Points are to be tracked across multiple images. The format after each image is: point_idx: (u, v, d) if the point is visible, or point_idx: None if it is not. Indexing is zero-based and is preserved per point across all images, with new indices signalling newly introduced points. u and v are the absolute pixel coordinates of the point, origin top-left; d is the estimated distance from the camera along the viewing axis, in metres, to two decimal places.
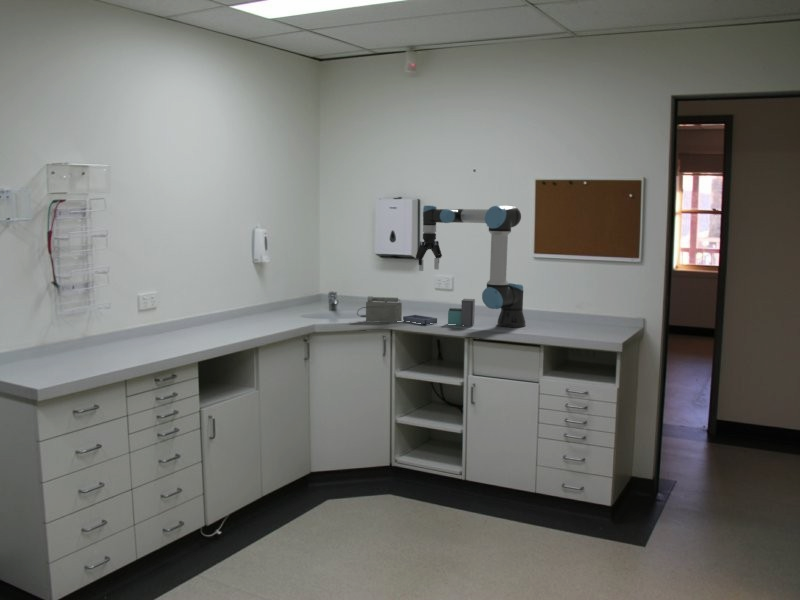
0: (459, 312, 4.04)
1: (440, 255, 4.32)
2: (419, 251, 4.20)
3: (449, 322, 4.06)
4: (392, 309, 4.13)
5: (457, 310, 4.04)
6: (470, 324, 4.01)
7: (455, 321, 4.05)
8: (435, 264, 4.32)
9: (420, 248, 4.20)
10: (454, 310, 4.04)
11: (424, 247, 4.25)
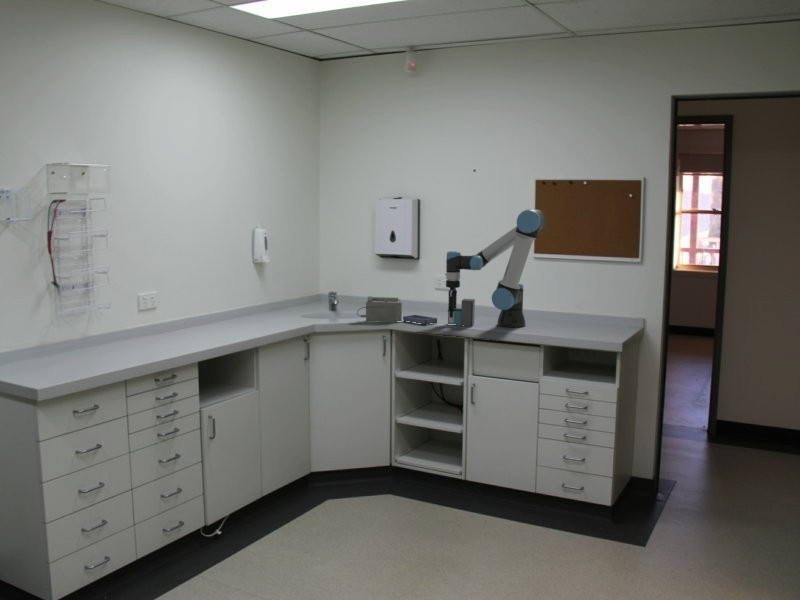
0: (459, 312, 4.04)
1: (455, 306, 4.11)
2: (451, 303, 4.00)
3: None
4: (392, 309, 4.13)
5: (457, 310, 4.04)
6: (470, 324, 4.01)
7: (455, 321, 4.05)
8: None
9: (451, 300, 4.00)
10: (454, 310, 4.04)
11: None
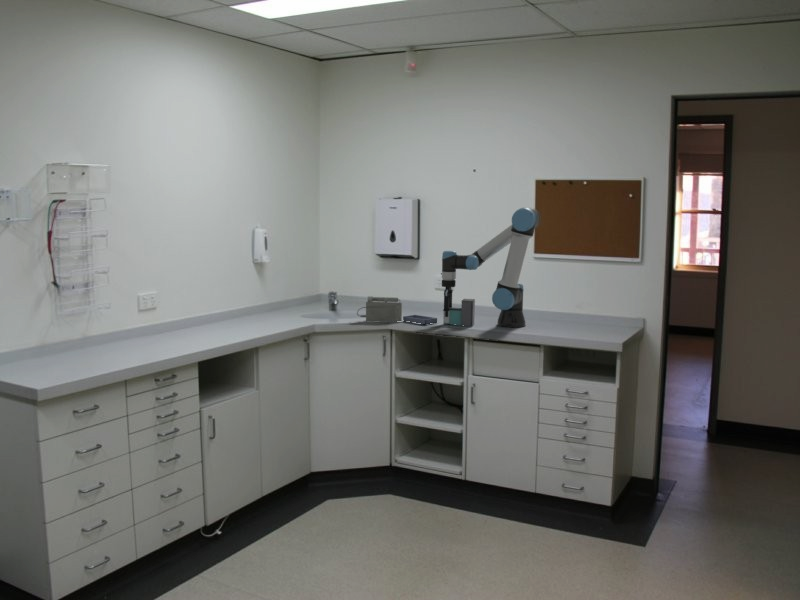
0: (455, 311, 4.04)
1: (451, 305, 4.11)
2: (446, 303, 4.01)
3: None
4: (392, 309, 4.13)
5: (453, 309, 4.04)
6: (470, 324, 4.01)
7: (451, 321, 4.05)
8: None
9: (446, 299, 4.01)
10: (450, 309, 4.05)
11: None
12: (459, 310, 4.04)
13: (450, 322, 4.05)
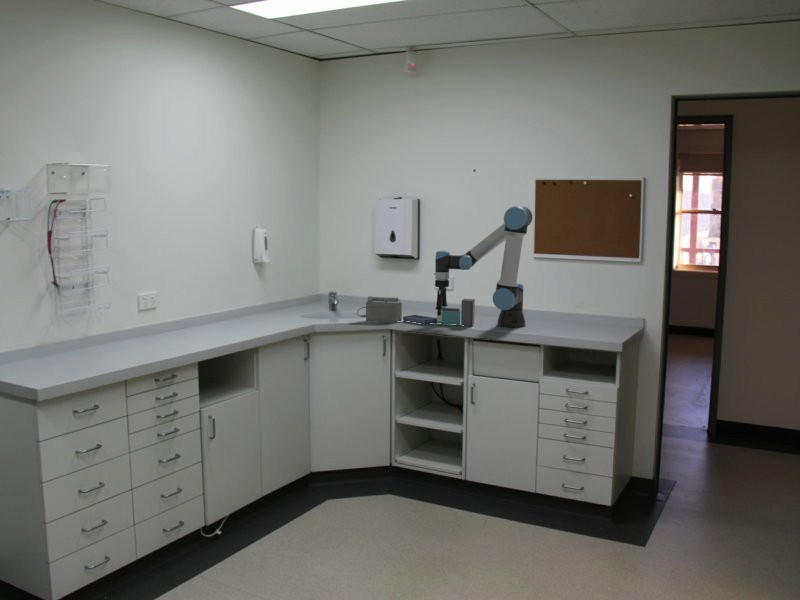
0: (448, 312, 4.05)
1: (446, 303, 4.15)
2: (439, 301, 4.00)
3: (438, 321, 4.07)
4: (392, 309, 4.13)
5: (446, 310, 4.05)
6: (470, 324, 4.01)
7: (445, 321, 4.06)
8: None
9: (439, 298, 4.00)
10: (443, 310, 4.06)
11: None
12: (453, 310, 4.04)
13: (444, 322, 4.06)
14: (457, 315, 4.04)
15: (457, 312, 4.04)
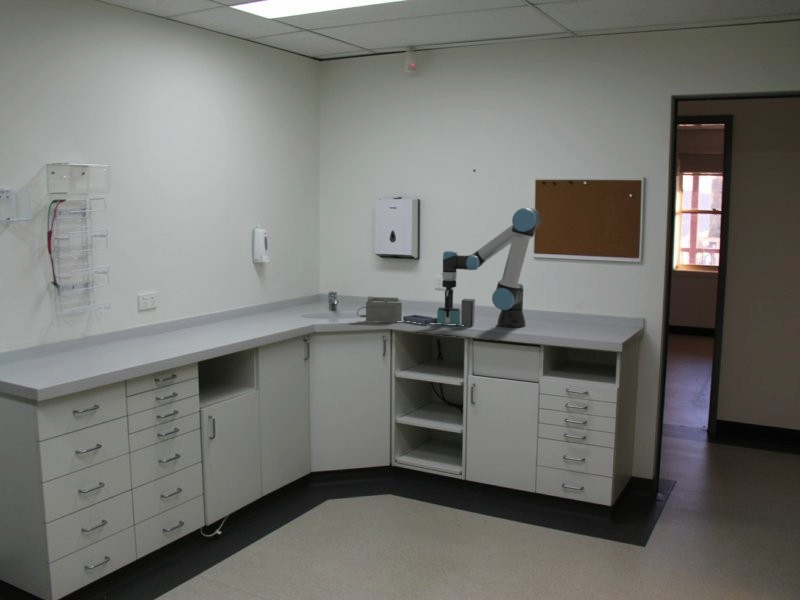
0: None
1: (452, 306, 4.11)
2: (447, 303, 4.01)
3: (438, 321, 4.07)
4: (392, 309, 4.13)
5: None
6: (470, 324, 4.01)
7: (444, 321, 4.06)
8: None
9: (447, 300, 4.00)
10: (443, 309, 4.06)
11: None
12: (453, 310, 4.04)
13: (444, 322, 4.06)
14: (457, 315, 4.04)
15: (457, 312, 4.04)
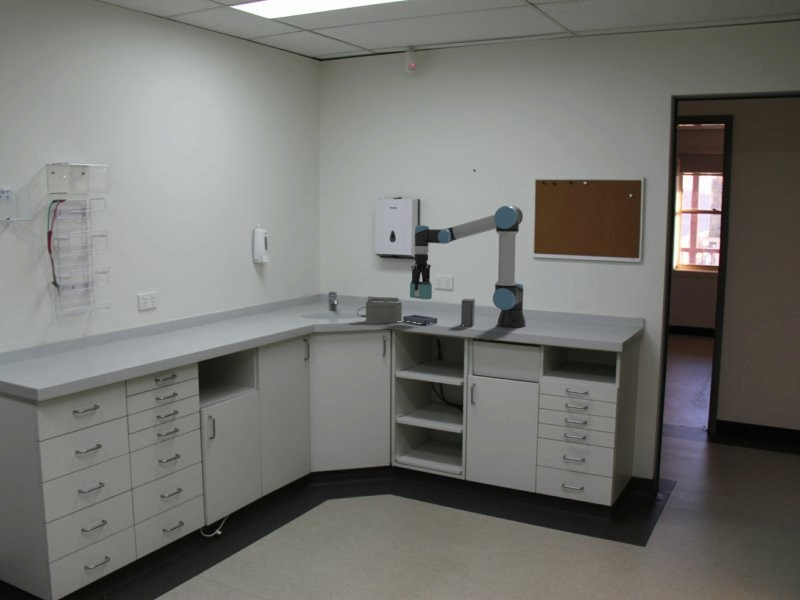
0: None
1: (428, 280, 4.13)
2: (413, 276, 4.06)
3: (411, 294, 4.13)
4: (392, 309, 4.13)
5: None
6: (470, 324, 4.01)
7: None
8: None
9: (413, 273, 4.05)
10: None
11: (417, 269, 4.09)
12: (421, 284, 4.07)
13: None
14: (425, 289, 4.06)
15: (425, 286, 4.06)
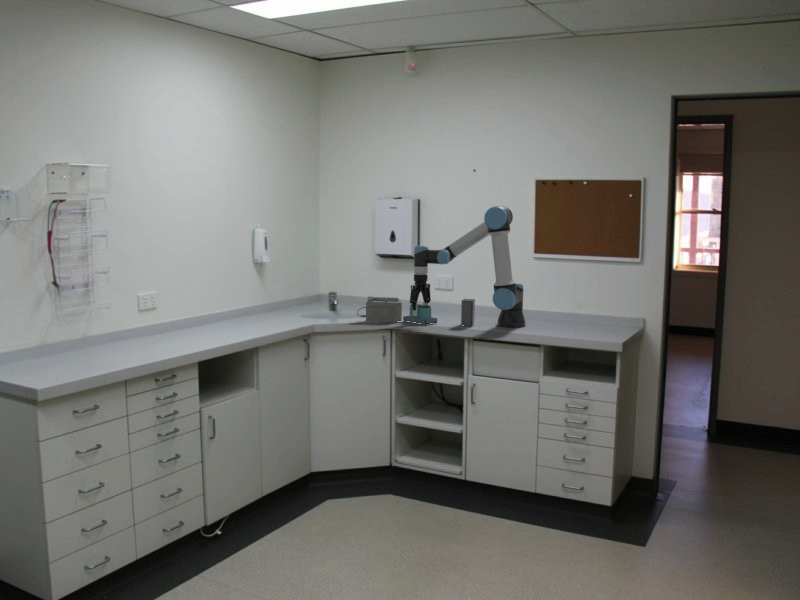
0: None
1: (429, 299, 4.15)
2: (412, 296, 4.06)
3: None
4: (392, 309, 4.13)
5: None
6: (470, 324, 4.01)
7: (415, 317, 4.13)
8: None
9: (412, 293, 4.06)
10: None
11: (416, 289, 4.10)
12: (421, 307, 4.09)
13: None
14: (424, 312, 4.07)
15: (424, 309, 4.07)
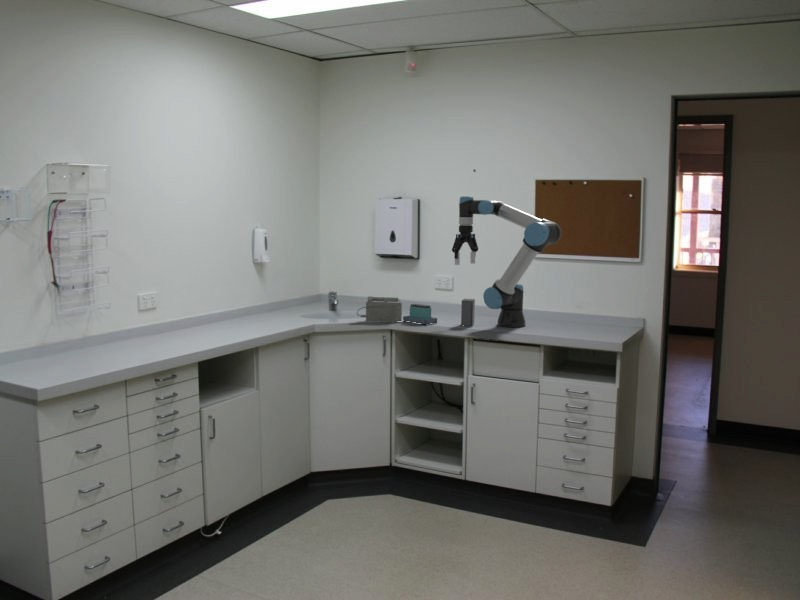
0: (417, 308, 4.11)
1: (476, 248, 4.13)
2: (455, 244, 4.01)
3: None
4: (392, 309, 4.13)
5: (416, 306, 4.11)
6: (470, 324, 4.01)
7: (415, 317, 4.13)
8: (471, 258, 4.13)
9: (456, 241, 4.01)
10: (414, 306, 4.12)
11: (460, 240, 4.06)
12: (421, 307, 4.09)
13: None
14: (424, 312, 4.07)
15: (424, 309, 4.07)
